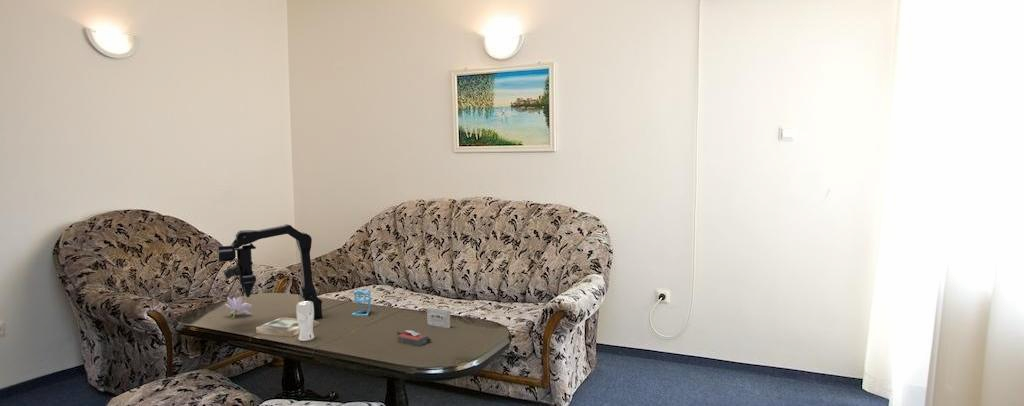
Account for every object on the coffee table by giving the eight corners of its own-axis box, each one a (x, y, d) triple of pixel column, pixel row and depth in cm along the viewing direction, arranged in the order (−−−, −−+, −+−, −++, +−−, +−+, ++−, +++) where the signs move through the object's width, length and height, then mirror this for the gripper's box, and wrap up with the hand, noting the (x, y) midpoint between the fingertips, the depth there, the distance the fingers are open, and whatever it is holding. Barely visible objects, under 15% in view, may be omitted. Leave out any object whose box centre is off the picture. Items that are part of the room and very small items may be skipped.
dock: (286, 321, 268) (285, 313, 267) (319, 324, 262) (319, 316, 262) (256, 333, 250) (255, 324, 250) (291, 337, 244) (290, 328, 244)
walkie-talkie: (435, 341, 237) (398, 334, 248) (434, 331, 237) (398, 323, 248) (420, 348, 230) (383, 339, 241) (419, 337, 229) (383, 329, 240)
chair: (374, 311, 282) (373, 287, 281) (367, 316, 274) (366, 291, 273) (359, 311, 283) (358, 286, 282) (351, 315, 275) (350, 290, 274)
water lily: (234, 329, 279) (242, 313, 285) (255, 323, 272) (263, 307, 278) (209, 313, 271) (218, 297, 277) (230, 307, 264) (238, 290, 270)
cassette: (451, 327, 255) (450, 310, 255) (448, 328, 254) (448, 311, 253) (429, 323, 261) (428, 306, 261) (426, 324, 260) (426, 307, 259)
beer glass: (309, 341, 238) (307, 305, 237) (293, 340, 239) (292, 304, 238) (318, 336, 245) (316, 301, 244) (303, 335, 246) (301, 300, 245)
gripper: (221, 258, 259) (223, 293, 261) (226, 265, 243) (228, 302, 245) (249, 255, 265) (250, 289, 266) (255, 262, 249) (257, 298, 251)
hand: (246, 295), depth 257 cm, fingers open, 9 cm apart
